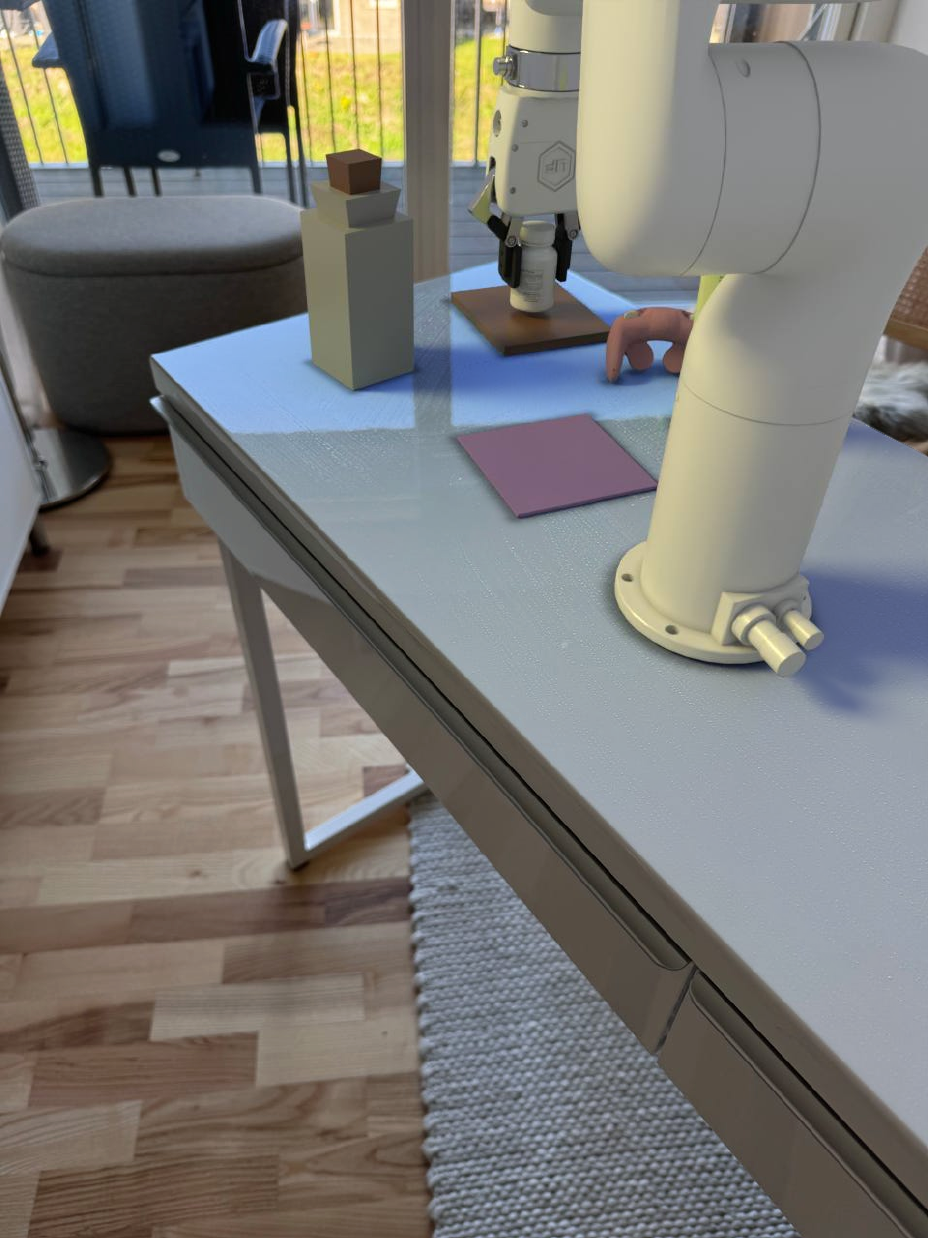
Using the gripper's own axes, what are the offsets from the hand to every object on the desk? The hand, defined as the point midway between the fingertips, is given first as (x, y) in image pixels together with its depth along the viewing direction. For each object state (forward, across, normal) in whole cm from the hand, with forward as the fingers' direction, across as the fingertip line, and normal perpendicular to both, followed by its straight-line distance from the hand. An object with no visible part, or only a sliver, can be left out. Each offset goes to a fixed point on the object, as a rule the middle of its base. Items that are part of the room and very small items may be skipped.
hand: (533, 278), depth 91 cm
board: (+4, 0, 0) cm, 4 cm away
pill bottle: (+3, 0, 0) cm, 3 cm away
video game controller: (+5, +6, -15) cm, 17 cm away
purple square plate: (+4, -10, -26) cm, 28 cm away
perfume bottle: (+5, -19, -5) cm, 20 cm away
